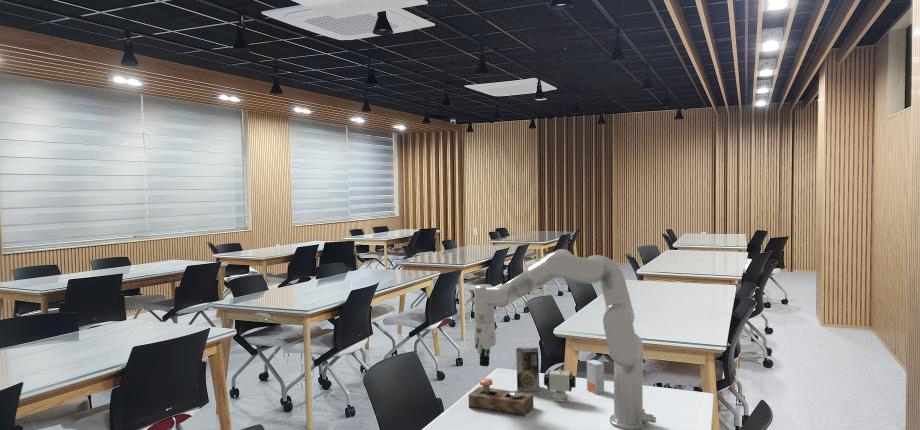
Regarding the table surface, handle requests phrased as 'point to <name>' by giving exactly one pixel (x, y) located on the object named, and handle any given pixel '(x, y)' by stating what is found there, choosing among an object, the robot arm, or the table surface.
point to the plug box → (500, 402)
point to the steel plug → (515, 394)
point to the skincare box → (595, 376)
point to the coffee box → (527, 369)
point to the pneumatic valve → (560, 383)
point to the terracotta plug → (486, 385)
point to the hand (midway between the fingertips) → (484, 365)
